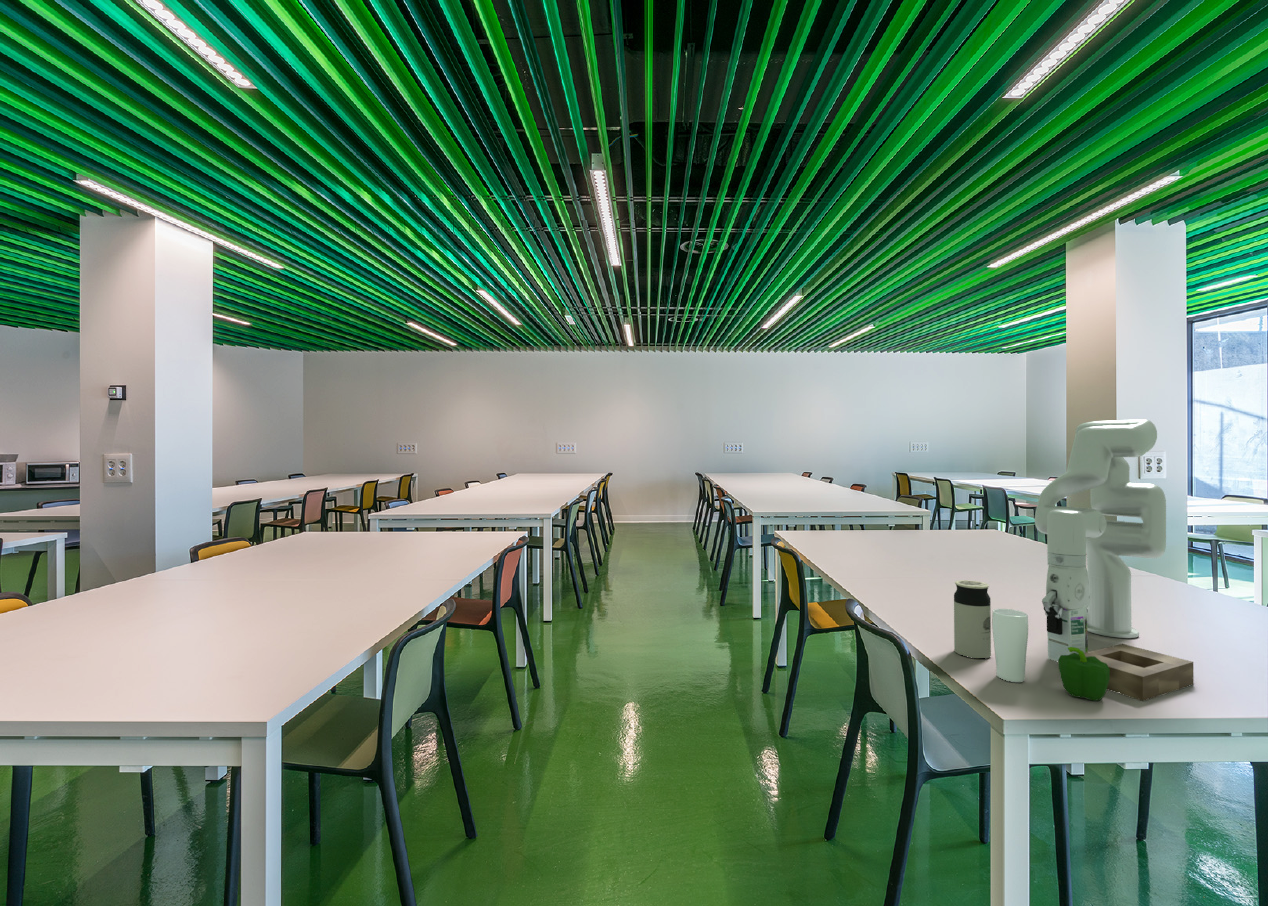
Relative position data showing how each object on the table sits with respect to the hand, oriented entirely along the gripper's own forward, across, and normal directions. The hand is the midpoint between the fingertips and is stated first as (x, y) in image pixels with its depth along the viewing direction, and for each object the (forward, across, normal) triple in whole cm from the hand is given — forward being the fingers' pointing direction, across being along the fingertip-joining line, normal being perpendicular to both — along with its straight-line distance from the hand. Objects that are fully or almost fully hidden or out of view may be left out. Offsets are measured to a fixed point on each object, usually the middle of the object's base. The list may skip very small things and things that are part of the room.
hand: (1066, 630), depth 137 cm
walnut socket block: (+8, 0, -13) cm, 15 cm away
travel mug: (+8, -16, +13) cm, 22 cm away
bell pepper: (+8, -18, -13) cm, 23 cm away
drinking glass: (+8, -23, -1) cm, 24 cm away
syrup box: (+8, 0, 0) cm, 8 cm away
